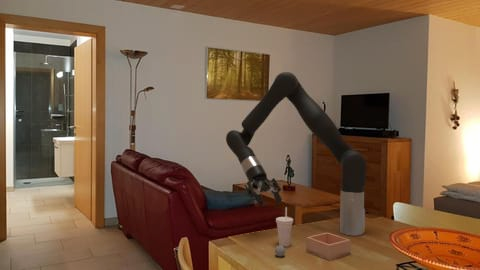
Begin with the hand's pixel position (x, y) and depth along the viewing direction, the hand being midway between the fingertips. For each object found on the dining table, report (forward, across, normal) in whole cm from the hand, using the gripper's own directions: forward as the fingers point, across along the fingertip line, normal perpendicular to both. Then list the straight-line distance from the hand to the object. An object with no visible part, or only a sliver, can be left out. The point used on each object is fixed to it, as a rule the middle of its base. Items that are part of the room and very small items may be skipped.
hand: (271, 203), depth 152 cm
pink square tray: (+26, +7, -6) cm, 28 cm away
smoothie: (+15, 0, +5) cm, 16 cm away
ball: (+21, -9, -1) cm, 23 cm away
